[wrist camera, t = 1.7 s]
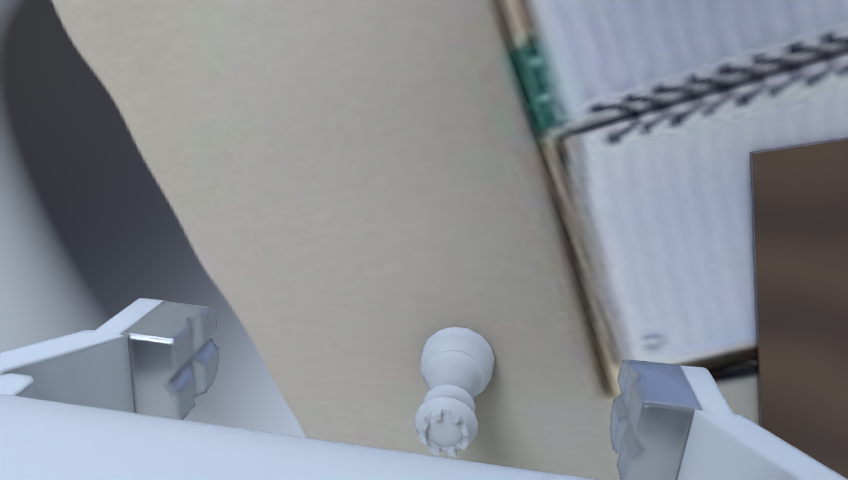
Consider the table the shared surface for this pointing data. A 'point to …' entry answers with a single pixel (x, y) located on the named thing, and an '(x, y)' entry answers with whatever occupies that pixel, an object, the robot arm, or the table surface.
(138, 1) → the table surface
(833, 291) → the brown wooden board
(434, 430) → the rook chess piece
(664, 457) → the robot arm
